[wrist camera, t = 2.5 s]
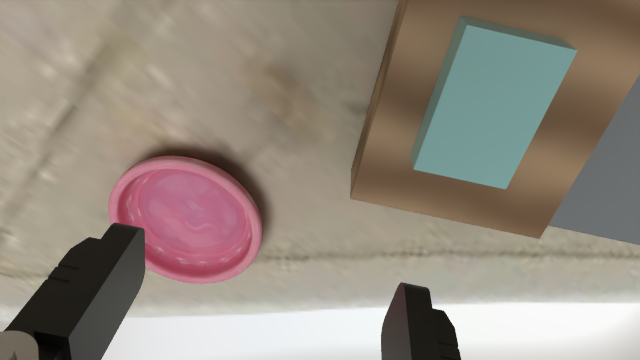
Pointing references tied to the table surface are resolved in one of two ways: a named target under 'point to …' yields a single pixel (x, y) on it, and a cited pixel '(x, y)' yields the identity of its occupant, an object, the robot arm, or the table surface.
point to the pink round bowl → (189, 218)
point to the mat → (609, 181)
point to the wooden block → (550, 137)
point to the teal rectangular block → (489, 101)
